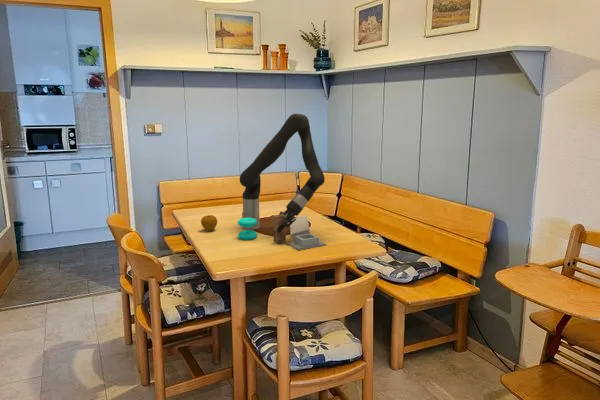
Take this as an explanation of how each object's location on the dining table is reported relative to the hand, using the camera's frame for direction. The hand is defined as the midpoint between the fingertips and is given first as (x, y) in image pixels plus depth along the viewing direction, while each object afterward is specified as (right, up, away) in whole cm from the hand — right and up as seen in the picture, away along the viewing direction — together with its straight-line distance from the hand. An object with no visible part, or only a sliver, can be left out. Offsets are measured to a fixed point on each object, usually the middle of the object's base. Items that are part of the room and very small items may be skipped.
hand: (276, 230), depth 230 cm
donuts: (-16, -5, +11) cm, 20 cm away
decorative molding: (+12, -2, +28) cm, 31 cm away
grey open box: (+15, -7, -2) cm, 17 cm away
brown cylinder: (+2, -6, +2) cm, 7 cm away
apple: (-38, -2, +25) cm, 46 cm away
